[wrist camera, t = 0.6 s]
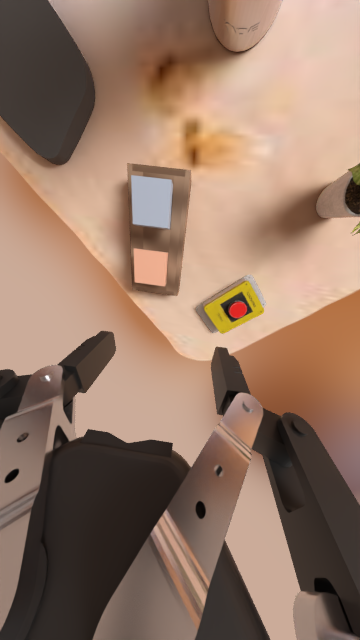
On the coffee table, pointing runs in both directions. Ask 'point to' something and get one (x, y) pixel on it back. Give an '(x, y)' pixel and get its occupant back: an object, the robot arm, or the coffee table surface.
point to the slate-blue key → (151, 201)
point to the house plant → (341, 197)
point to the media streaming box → (42, 79)
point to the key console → (162, 238)
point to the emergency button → (232, 306)
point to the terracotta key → (150, 267)
